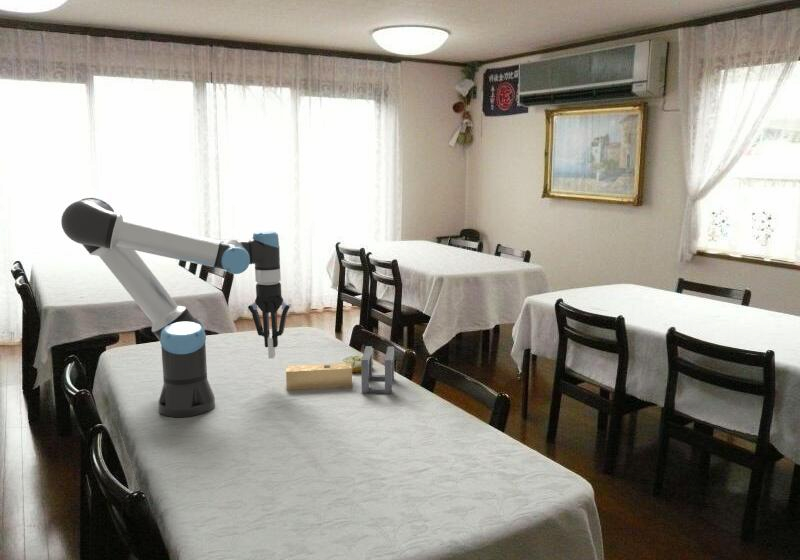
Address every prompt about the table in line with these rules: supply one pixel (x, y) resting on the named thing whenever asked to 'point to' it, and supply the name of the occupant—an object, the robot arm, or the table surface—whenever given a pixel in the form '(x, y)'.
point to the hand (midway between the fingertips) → (271, 357)
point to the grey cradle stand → (367, 375)
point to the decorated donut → (354, 362)
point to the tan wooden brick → (318, 376)
